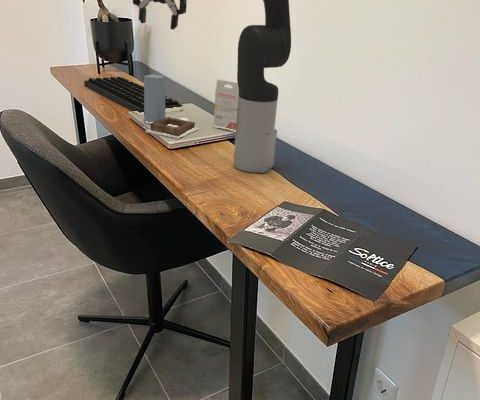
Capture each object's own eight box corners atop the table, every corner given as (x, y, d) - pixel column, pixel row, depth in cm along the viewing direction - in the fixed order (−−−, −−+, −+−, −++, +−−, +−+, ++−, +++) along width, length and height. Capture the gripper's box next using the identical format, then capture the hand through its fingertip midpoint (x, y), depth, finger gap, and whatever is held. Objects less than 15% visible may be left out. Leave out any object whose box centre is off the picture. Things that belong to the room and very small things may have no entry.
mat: (199, 129, 146) (199, 128, 146) (178, 139, 136) (178, 138, 136) (167, 123, 150) (168, 121, 150) (145, 132, 140) (145, 130, 140)
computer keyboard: (182, 112, 165) (182, 101, 164) (140, 117, 156) (140, 105, 154) (122, 85, 196) (122, 75, 195) (84, 87, 187) (84, 77, 185)
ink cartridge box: (244, 129, 150) (248, 81, 144) (237, 133, 146) (241, 83, 140) (220, 124, 154) (223, 77, 148) (212, 127, 150) (215, 79, 144)
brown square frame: (194, 128, 145) (194, 122, 145) (178, 136, 138) (178, 129, 137) (168, 123, 149) (168, 116, 148) (150, 130, 141) (150, 123, 140)
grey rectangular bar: (164, 122, 151) (165, 76, 145) (156, 125, 147) (157, 78, 141) (152, 119, 152) (152, 74, 147) (144, 122, 149) (144, 76, 143)
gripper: (131, -45, 123) (127, 22, 131) (185, -34, 122) (178, 33, 130) (142, -44, 130) (138, 19, 138) (193, -34, 129) (186, 29, 136)
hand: (157, 26), depth 134 cm, fingers open, 8 cm apart
